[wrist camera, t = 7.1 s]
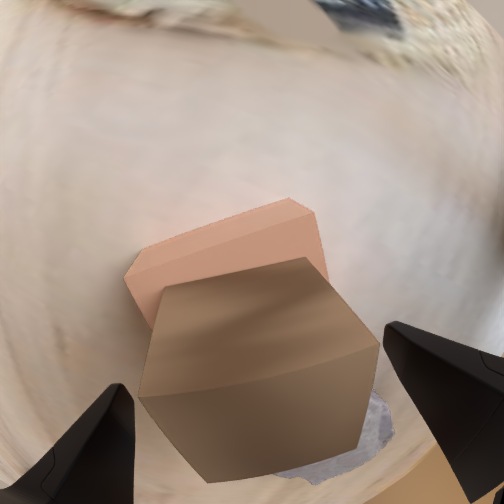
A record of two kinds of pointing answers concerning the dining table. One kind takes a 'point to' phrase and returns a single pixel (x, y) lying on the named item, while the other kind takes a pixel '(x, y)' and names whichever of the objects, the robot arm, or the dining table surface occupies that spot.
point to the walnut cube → (258, 371)
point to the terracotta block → (225, 251)
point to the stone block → (370, 443)
